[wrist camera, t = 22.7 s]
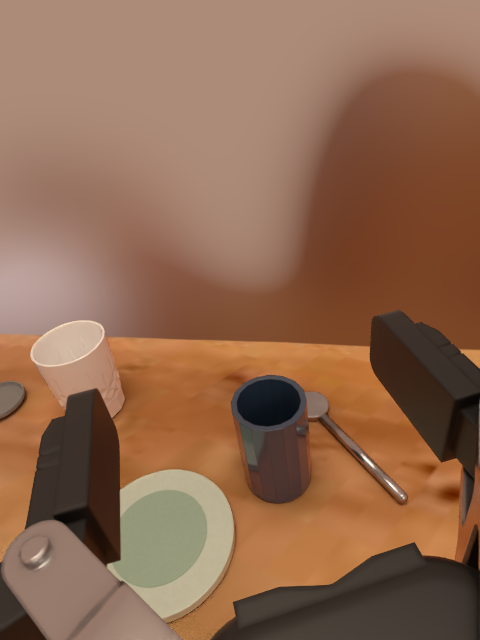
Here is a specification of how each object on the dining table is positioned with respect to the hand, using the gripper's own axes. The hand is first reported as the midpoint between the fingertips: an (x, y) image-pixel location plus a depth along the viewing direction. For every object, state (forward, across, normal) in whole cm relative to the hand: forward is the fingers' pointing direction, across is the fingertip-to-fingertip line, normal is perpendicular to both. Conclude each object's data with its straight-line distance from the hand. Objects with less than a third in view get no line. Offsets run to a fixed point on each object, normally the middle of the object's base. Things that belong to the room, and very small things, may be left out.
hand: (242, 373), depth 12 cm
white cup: (+32, +14, +28) cm, 45 cm away
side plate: (+12, +8, +28) cm, 32 cm away
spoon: (+17, -11, +28) cm, 34 cm away
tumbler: (+16, -4, +28) cm, 32 cm away
